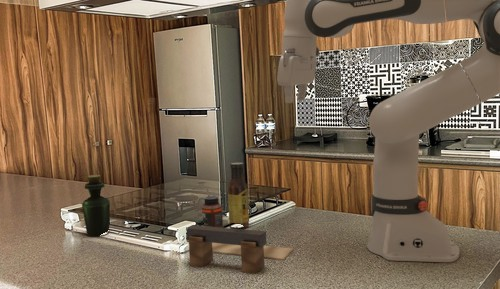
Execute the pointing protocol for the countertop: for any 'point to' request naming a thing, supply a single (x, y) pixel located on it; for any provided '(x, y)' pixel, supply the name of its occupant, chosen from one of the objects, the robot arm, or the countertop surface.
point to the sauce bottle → (238, 196)
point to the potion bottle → (96, 208)
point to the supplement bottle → (212, 212)
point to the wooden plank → (269, 251)
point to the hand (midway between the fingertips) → (295, 101)
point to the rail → (227, 235)
